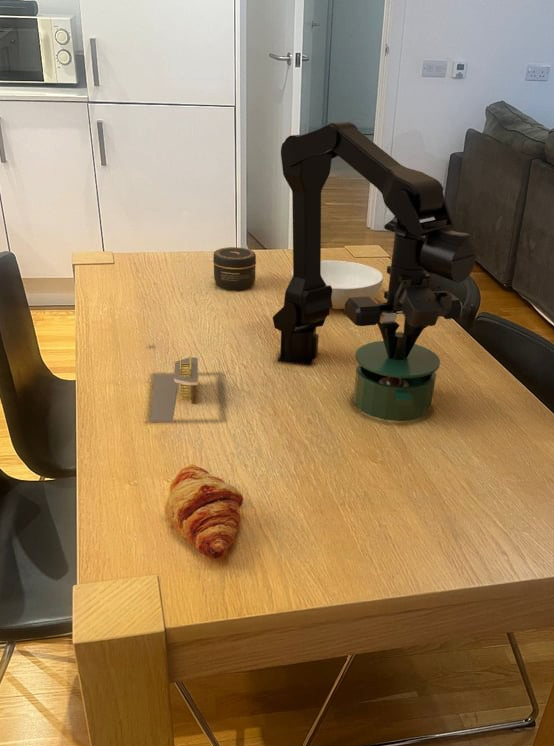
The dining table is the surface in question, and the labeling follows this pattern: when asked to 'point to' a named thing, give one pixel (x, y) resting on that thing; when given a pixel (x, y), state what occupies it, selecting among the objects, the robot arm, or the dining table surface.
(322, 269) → the serving bowl
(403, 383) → the mushroom
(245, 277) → the jar
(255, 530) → the dining table surface
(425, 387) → the pot
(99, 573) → the dining table surface
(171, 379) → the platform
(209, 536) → the croissant
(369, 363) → the lid
